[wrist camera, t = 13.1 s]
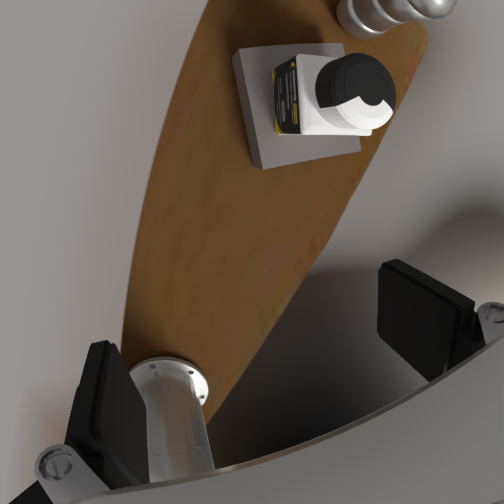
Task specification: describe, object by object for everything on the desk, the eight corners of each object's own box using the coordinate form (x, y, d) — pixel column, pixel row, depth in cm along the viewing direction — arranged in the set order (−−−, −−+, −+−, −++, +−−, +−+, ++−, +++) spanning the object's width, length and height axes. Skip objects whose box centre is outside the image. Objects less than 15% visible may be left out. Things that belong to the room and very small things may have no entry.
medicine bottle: (270, 68, 28) (324, 37, 17) (332, 72, 30) (403, 53, 19) (274, 134, 31) (330, 135, 20) (336, 134, 32) (408, 139, 21)
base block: (343, 148, 37) (361, 151, 34) (253, 166, 35) (263, 169, 32) (326, 50, 32) (342, 43, 29) (231, 58, 30) (238, 48, 27)
